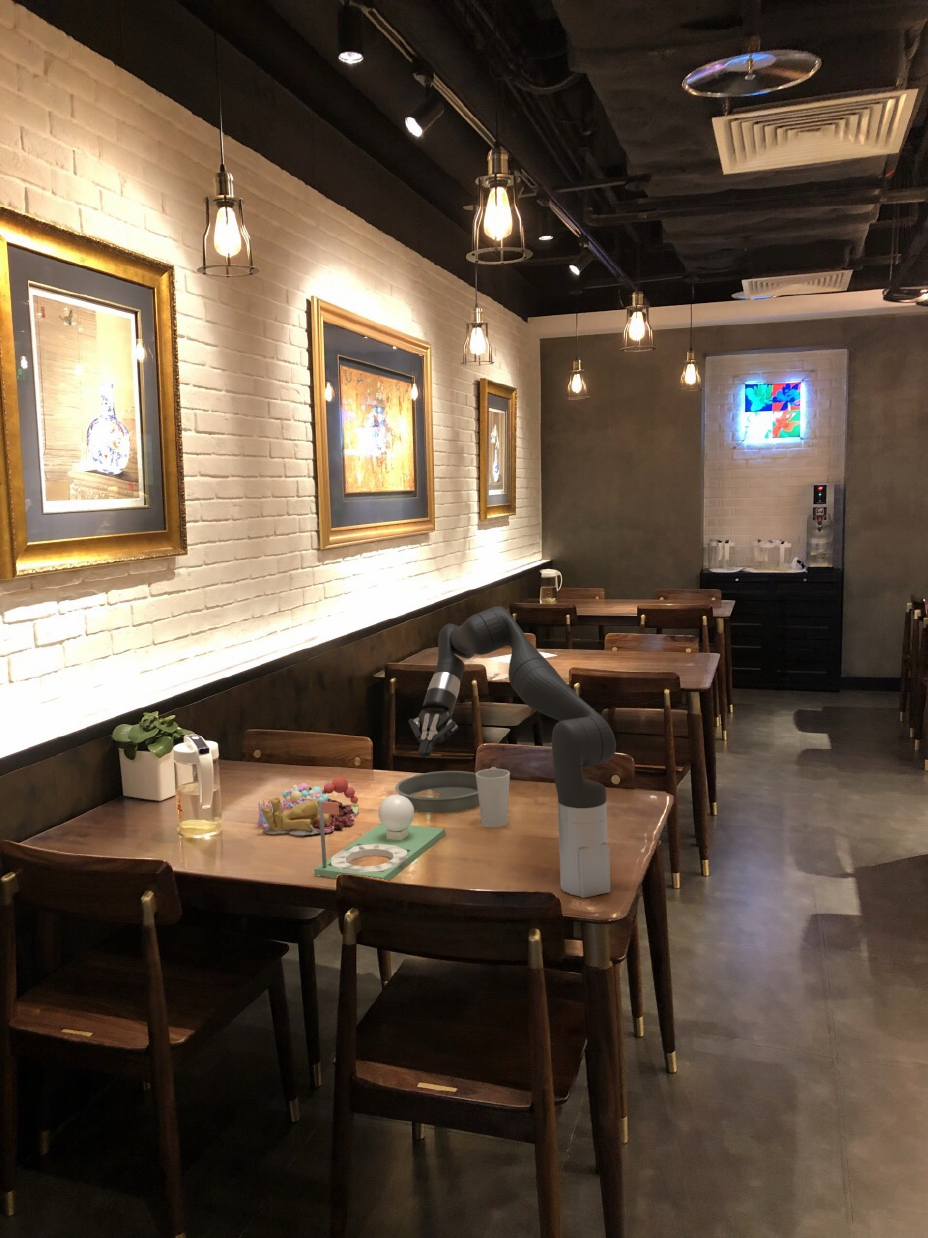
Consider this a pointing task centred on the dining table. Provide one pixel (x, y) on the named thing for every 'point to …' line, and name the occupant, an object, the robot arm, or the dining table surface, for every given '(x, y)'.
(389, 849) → the mini golf board
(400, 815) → the ball
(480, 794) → the cup
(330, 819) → the coral reef model
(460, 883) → the dining table surface
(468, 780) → the round baking tin
